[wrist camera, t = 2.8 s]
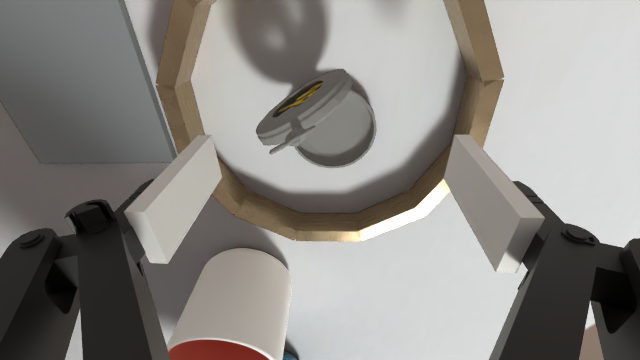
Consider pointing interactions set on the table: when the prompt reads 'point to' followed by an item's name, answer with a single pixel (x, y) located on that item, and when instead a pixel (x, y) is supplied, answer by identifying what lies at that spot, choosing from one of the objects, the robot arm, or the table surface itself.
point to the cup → (235, 310)
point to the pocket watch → (322, 122)
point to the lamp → (288, 356)
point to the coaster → (79, 83)
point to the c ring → (472, 120)
